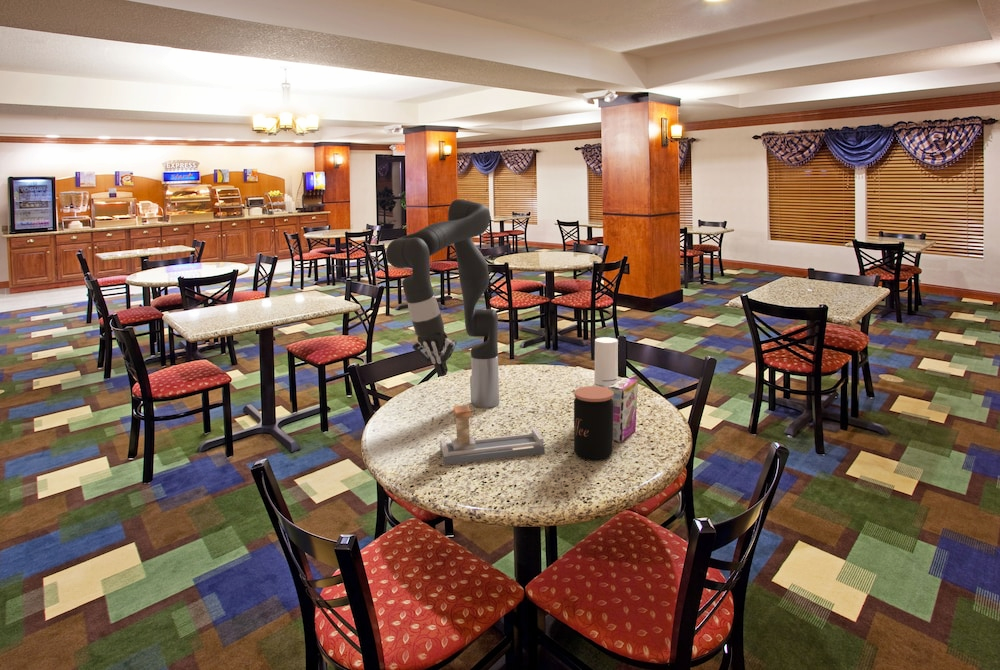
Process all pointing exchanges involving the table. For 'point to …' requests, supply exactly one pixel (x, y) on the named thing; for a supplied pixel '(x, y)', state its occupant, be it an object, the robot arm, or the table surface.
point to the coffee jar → (593, 422)
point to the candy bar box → (624, 408)
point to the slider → (462, 429)
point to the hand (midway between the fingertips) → (442, 374)
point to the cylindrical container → (605, 361)
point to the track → (495, 448)
